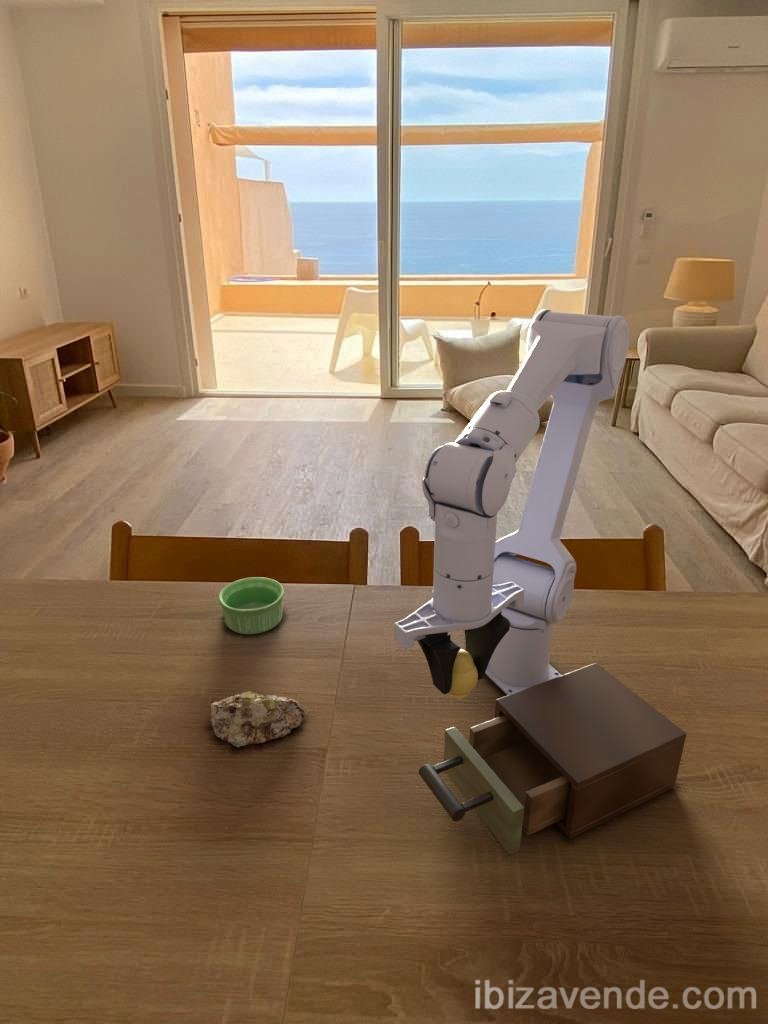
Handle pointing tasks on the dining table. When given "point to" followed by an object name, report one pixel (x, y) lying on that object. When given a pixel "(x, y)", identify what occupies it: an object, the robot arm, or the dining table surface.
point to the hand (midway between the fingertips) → (458, 680)
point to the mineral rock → (254, 718)
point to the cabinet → (598, 742)
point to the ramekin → (252, 604)
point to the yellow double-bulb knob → (463, 675)
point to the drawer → (500, 781)
